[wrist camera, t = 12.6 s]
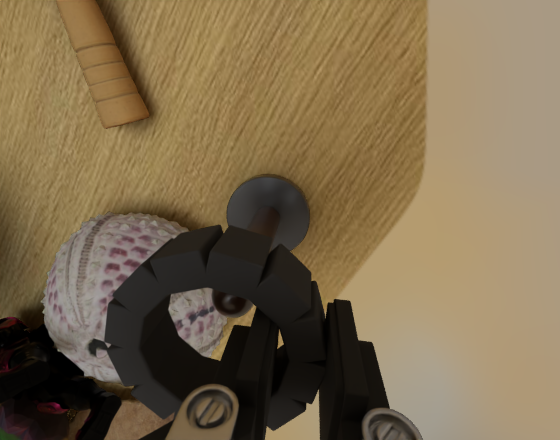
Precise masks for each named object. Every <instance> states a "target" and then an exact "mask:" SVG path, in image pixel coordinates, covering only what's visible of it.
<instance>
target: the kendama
mask: <svg viewBox="0 0 560 440" xmlns="http://www.w3.org/2000/svg"><path fill="white" fill-rule="evenodd" d="M56 2H57V5H58V8H59V11H60V14H61V17H62V20H63V23H64V26H65V28H66V31H67V33H68V36H69V39H70V41H71V44H72V46H73V49H74V51H75V52H77V54H76V56H77V59H78V62H79V64H80V67H81V69H82V70H83V74H84V77H85V80H86V82H87V84H88V86H89V90H90V93H91V95H92V98H93V100H94V101H95V102H96V104H95V106H96V109H97V112H98V114H99V117H100V120H101V123H102V125H103V127H104V128H106V129H107V128H112V127H117V126H121V125H124V124H128V123H132V122H135V121H138V120H142V119H145V118H148V117H149V116H150V115H149V113H148V110H147V108H146V106H145V104H144V102H143V100H142V98H141V96H140V94H139V93H137V88H136V86H135V84H134V82H133V80H132V78H131V76H130V73H129V71H128V69H127V67H126V65H125V63H124V61H123V58H122V56H121V54H120V51H119V49H118V47H116V46H115V45H116V43H115V40H114V38H113V36H112V34H111V31H110V29H109V27H108V25H107V23H106V21H105V19H104V17H103V14H102V12H101V10H100V8H99V6H98V4H97V2H96V0H56Z"/></svg>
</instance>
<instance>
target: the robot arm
mask: <svg viewBox="0 0 560 440" xmlns="http://www.w3.org/2000/svg"><path fill="white" fill-rule="evenodd" d="M325 328H326V345H327V359H326V360H325V373H324V377H323V380H322V382H321V385H320V387H319V413H320V414H319V417H320V440H423V438H422V436H421V434H420V432H419V430H418V429H417V427H416V426H415V425H414V424H413V423H412V422H411V421H410V420H409V419H408V418H407V417H405V416H404V415H403V414H401V413H399V412H397V411H395V410H392V409H390V407H389V403H388V399H387V396H386V392H385V388H384V384H383V380H382V376H381V373H380V369H379V365H378V361H377V357H376V353H375V350H374V346H373V343H372V342H367V341H359V340H358V337H357V332H356V327H355V322H354V317H353V312H352V307H351V302H350V301H347V300H339V299H334V302H333V303H329V302H328V305H327V312H326V319H325ZM278 336H279V327H278V326H277V324H276V323H274V322H273V321H271V319H269V318H268V317H267V316H266V315H265V314H264V313H263V312H262V311H261V310H260V309H258V308H257V307H256V311H255V314H254V317H253V321H252V324H251V327H249V326H241V325H234V326H233V329H232V331H231V334H230V337H229V339H228V342H227V345H226V347H225V350H224V353H223V355H222V358H221V361H220V363H219V366H218V369H217V371H216V374H215V377H214V379H213V382H212V384H208V385H204V386H201V387H199V388H197V389H195V390H193V391H192V392H191V393H190V394H189V395H188V396H187V397H186V399H185V400H184V402H183V403H182V405H181V407H180V409H179V412H178V414H177V416H176V418H175V419H174V420H172V421H170V422H169V423H167V424H165V425H163V426H162V427H160V428H158V429H156V430H154V431H153V432H151V433H149V434H147V435H145V436H144V437H142V438H140V439H138V440H265V434H266V428H267V421H268V414H269V407H270V401H271V392H272V385H273V378H274V372H275V365H276V358H277V347H278Z"/></svg>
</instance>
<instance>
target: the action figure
mask: <svg viewBox="0 0 560 440" xmlns="http://www.w3.org/2000/svg"><path fill="white" fill-rule="evenodd" d="M27 328H29V327H28V326H27V325H25V324H24V323H23V322H22V321H20V320H19V319H17V318H15V317H7V318H3V319H0V404H1V403H3V402H5V401H7V400H9V399H11V398H14V399H16V400H20V399H21V398H22V391H23V390H25V389H27V390H28V392H29V393H27V396H28V399H29V400H31V401H32V402H34V403H33V404H34V405H35V406H36V407H37V412H39V413H40V412H41V413H42V414H45V415H48V414H55V415H57V414H62V413H64V412H66V411H68V410H70V409H75V410H78V411H84V410H88V409H90V410H91V411H90V413H89V415H88V417H87V418H86V420H85V421H84V425H83V426H82V428H81V429H79V430H78V432H77V433H76V435H75V440H104V439H105V437H106V435H107V433H108V431H109V428H110V425H111V422H112V420H113V419H114V417H115V415H116V413H117V412H118V410H119V408H120V407H121V405H122V402H121V398H120V397H118V396H117V395H116V394H115V393H111V392H107V391H106V390H104V389H102V388H100V387H99V386H98V385H97V384H96V383H95V382H94V381H93V379H89V378H84V377H85V376H84V371H83V370H82V369H81V368H79V367H78V366H77V365H76V364H75V363H74V362H73V361H71V360H70V359H69V358H67V357H66V356H65V355H64V354H63V353H62V352H59V351H58V349H55V348H52V347H53V346H54V341H53V340H52V339H51V337H50V335H49V332H48V329H47V327H46V325H45V323H44V324H42V325H41V326H40V327H39V328H37V329H35V330H33V331H32V332H29V331H27V330H25V331H24V329H27Z"/></svg>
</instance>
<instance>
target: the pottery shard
mask: <svg viewBox="0 0 560 440" xmlns="http://www.w3.org/2000/svg"><path fill="white" fill-rule="evenodd" d="M121 402H122V405H121V407H120V408H119V410H118V412H117V413H116V415H115V417H114V419H113V420H112V422H111V425H110V428H109V431H108V433H107V435H106V437H105V439H104V440H138V439H140V438H142V437H144V436H145V435H147V434H149V433H151V432H153V431H154V430H156V429H158V428H160V427H162V426H163V425H165V424H167V423H169V422H170V421H172V420H173V418H174V413H175V412H174V413H173V414H171V415H170V416H169V417H167V418H166V419H165V420H163V419H161V418H160V417H159V416H158V415H156V414H155V413H154V412H153V411H151V410H150V409H149V408H147V407H146V406H145V405H144V404H142V403H141V402H140V401H139V400H121ZM90 411H91V410H90V409H88V410H84V411H79V412H77V414H76V415H75V418H73V419H70V420H68V422H69V427H70V431H69V440H75V435H76V433H77V432H78V430H79V429H81V428H82V426H83V425H84V421H85V420H86V418H87V417H88V415H89V413H90Z"/></svg>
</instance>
